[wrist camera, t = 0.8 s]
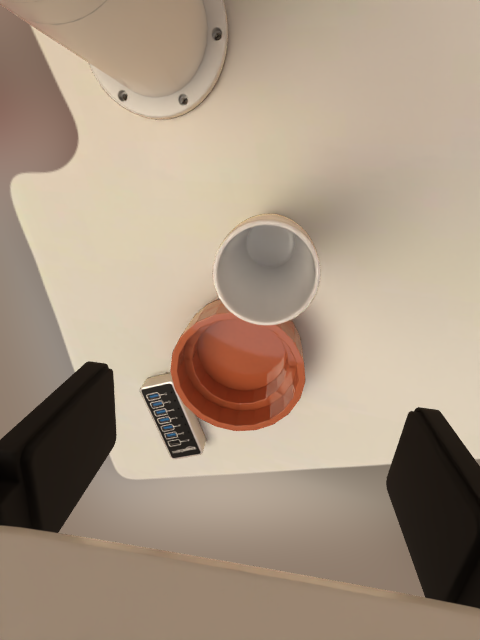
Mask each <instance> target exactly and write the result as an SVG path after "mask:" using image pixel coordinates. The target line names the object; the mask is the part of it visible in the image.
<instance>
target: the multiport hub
mask: <svg viewBox="0 0 480 640" xmlns="http://www.w3.org/2000/svg"><path fill="white" fill-rule="evenodd" d="M140 393H141V395H142V397H143V399H144V401H145V403H146V405H147V408H148V410H149V412H150V414H151V416H152V418H153V420H154V423H155V425H156V427H157V429H158V431H159V433H160V435H161V438H162V440H163V442H164V444H165V446H166V448H167V450H168V453H169V455H170V457H171V458H172V459H178V458H184V457H190V456H195V455H201V454H202V453H203V449H204V446H205V442H206V438H205V436H204V433H203V431H202V429H201V426H200V424H199V421H198V419H197V417H196V415H195V414H194V413H193V412H192V411H191V410H190V409H188V408H187V407H186V406H185V405H184V404H183V402H182V400H181V399H180V397H179V395H178V394H177V392H176V390H175V388H174V384H173V380H172V376H171V373H167V374H163V375H158V376H154V377H150V378H147V379H146V381H145V382H144V384H143V385H142V387H141V388H140Z"/></svg>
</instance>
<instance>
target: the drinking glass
mask: <svg viewBox="0 0 480 640" xmlns="http://www.w3.org/2000/svg"><path fill="white" fill-rule="evenodd" d="M320 275H321V269H320V262H319V258H318V254H317V251H316V248H315V246H314V244H313V242H312V240H311V238H310V237H309V235H308V234H307V232H306V231H305V230H304V229H303V228H302V227H301V226H300V225H299V224H297V223H296V222H295V221H293V220H291V219H290V218H287V217H285V216H282V215H279V214H260V215H256V216H253V217H250V218H248V219H246V220H244V221H243V222H241V223H240V224H238V225H237V226H236V227H235V228H234V229H233V230H232V231H231V232H230V233H229V234H228V235H227V236H226V238H225V239H224V241H223V242H222V244H221V245H220V247H219V249H218V251H217V253H216V256H215V259H214V264H213V282H214V286H215V289H216V292H217V294H218V296H219V298H220V300H221V302H222V303H223V304H224V306H225V307H226V308H227V309H228V310H229V311H230V312H231V313H232V314H234V315H235V316H237V317H238V318H240V319H242V320H244V321H246V322H249V323H252V324H256V325H277V324H281V323H284V322H287V321H289V320H291V319H293V318H295V317H296V316H298V315H299V314H301V313H302V312H303V311H304V310H305V309H306V308H307V307H308V306H309V304H310V303H311V302H312V300H313V299H314V297H315V295H316V292H317V290H318V287H319V283H320Z"/></svg>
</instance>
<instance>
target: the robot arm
mask: <svg viewBox="0 0 480 640" xmlns="http://www.w3.org/2000/svg"><path fill="white" fill-rule="evenodd" d="M0 5H2V6H3V7H5V8H6V9H8V10H9V11H11V12H12V13H14V14H15V15H17V16H18V17H19V18H21V19H22V20H24V21H25V22H27V23H28V24H30V25H31V26H33V27H35V28H36V29H38V30H39V31H41V32H42V33H44V34H45V35H47V36H48V37H50V38H51V39H53V40H55V41H56V42H58V43H59V44H61V45H62V46H64V47H65V48H67V49H68V50H70V51H71V52H73V53H75V54H76V55H78V56H79V57H81V58H82V59H84V60H85V61H87V62H88V63H89V66H90V68H91V70H92V73H93V74H94V76H95V77H96V79H97V81H98V82H99V84H100V86H101V87H102V88H103V89H104V90H105V91H106V93H107V94H108V95H109V96H110V97H111V98H112V99H113V100H114V101H116V102H117V103H118V104H119V105H121V106H122V107H123V108H125V109H127V110H129V111H131V112H132V113H135V114H137V115H140V116H142V117H146V118H151V119H170V118H174V117H178V116H181V115H183V114H185V113H187V112H189V111H191V110H192V109H194V108H195V107H196V106H197V105H199V104H200V103H201V102H202V101H203V100H204V99H205V98H206V96H207V95H208V94H209V93H210V91H211V90H212V89H213V87H214V85H215V83H216V81H217V80H218V78H219V76H220V73H221V70H222V67H223V64H224V61H225V56H226V50H227V44H228V23H227V16H226V9H225V5H224V2H223V0H0ZM217 35H220V36H221V39H220V40H218V41H217V40H216V36H217ZM126 95H127V100H126V101H125V99H124V98H125V96H126ZM184 99H187V100H188V103H187V104H185V105H184V104H183V100H184ZM115 441H116V418H115V399H114V380H113V371H112V369H109V368H108V365H107V364H104V363H97V362H86V363H85V364H84V365H83V366H82V367H81V368H80V369H78V370H77V371H76V372H75V373H74V374H73V375H72V376H71V377H70V378H69V379H67V380H66V381H65V382H64V383H63V384H62V385H61V386H60V387H59V388H57V389H56V390H55V391H54V392H53V393H52V394H51V395H50V396H48V398H46V399H45V400H44V401H43V402H42V403H41V404H40V405H38V406H37V407H36V408H35V409H34V410H33V411H32V412H31V413H30V414H28V415H27V416H26V417H25V418H24V419H23V420H22V421H21V422H20V423H18V424H17V425H16V426H15V427H14V428H13V429H12V430H11V431H10V432H8V433H7V434H6V435H5V436H4V437H3V438H2V439H1V440H0V640H480V466H479V465H478V463H477V462H476V461H475V459H474V458H473V457H472V455H471V454H470V452H469V451H468V450H467V448H466V447H465V445H464V444H463V443H462V441H461V440H460V438H459V437H458V436H457V434H456V433H455V431H454V430H453V429H452V427H451V426H450V425H449V423H448V422H447V420H446V419H445V418H444V416H443V415H442V413H441V412H440V411H439V410H434V409H427V408H419V407H418V408H416V409H415V411H414V412H413V411H411V412H409V414H408V416H407V419H406V422H405V425H404V428H403V431H402V434H401V437H400V440H399V443H398V446H397V449H396V452H395V455H394V458H393V461H392V464H391V467H390V470H389V473H388V476H387V481H386V485H387V490H388V493H389V496H390V499H391V502H392V505H393V507H394V510H395V513H396V516H397V519H398V522H399V525H400V527H401V530H402V533H403V536H404V538H405V541H406V544H407V547H408V550H409V552H410V555H411V558H412V561H413V564H414V566H415V569H416V572H417V575H418V578H419V581H420V583H421V586H422V589H423V592H424V595H425V597H420V596H415V595H410V594H405V593H399V592H394V591H388V590H383V589H377V588H372V587H366V586H361V585H355V584H350V583H344V582H339V581H333V580H328V579H322V578H317V577H311V576H306V575H300V574H295V573H289V572H283V571H278V570H272V569H267V568H261V567H255V566H250V565H244V564H238V563H232V562H227V561H221V560H215V559H210V558H204V557H198V556H192V555H187V554H181V553H175V552H169V551H164V550H158V549H152V548H146V547H140V546H134V545H128V544H122V543H116V542H110V541H104V540H98V539H93V538H87V537H81V536H74V535H67V534H61V533H58V532H59V531H60V529H61V527H62V526H63V525H64V523H65V521H66V520H67V518H68V517H69V515H70V514H71V512H72V510H73V509H74V507H75V506H76V504H77V503H78V501H79V500H80V498H81V497H82V495H83V493H84V492H85V490H86V489H87V487H88V486H89V484H90V483H91V481H92V479H93V478H94V476H95V475H96V473H97V472H98V470H99V469H100V467H101V466H102V464H103V462H104V461H105V459H106V458H107V456H108V455H109V453H110V452H111V450H112V448H113V447H114V444H115Z"/></svg>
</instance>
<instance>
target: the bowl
mask: <svg viewBox="0 0 480 640" xmlns="http://www.w3.org/2000/svg"><path fill="white" fill-rule="evenodd" d="M171 376H172V380H173V384H174V388H175V390H176V392H177V394H178V395H179V397H180V399H181V400H182V402H183V404H184V405H185V406H186V407H187V408H188V409H190V410H191V411H192V412H193V413H194V414H195V415H196V416H197V417H199V418H200V419H202V420H204V421H206V422H208V423H210V424H212V425H214V426H216V427H220V428H224V429H229V430H233V431H235V430H236V431H246V430H258V429H261V428H264V427H267V426H270V425H273V424H275V423H276V422H278V421H279V420H281V419H282V418H283V417H285V416H286V415H288V414H289V413H290V411H291V410H292V409H293V407H294V406H295V405H296V403H297V402H298V401H299V399H300V398H301V394H302V391H303V387H304V384H305V369H304V359H303V352H302V344H301V338H300V336H299V334H298V332H297V329H296V327H295V325H294V323H293V322H292V321H291V320H289V321H287V322H284V323H281V324H277V325H256V324H252V323H249V322H246V321H244V320H242V319H240V318H238V317H237V316H235V315H234V314H232V313H231V312H230V311H229V310H228V309H227V308H226V307H225V306H224V304H223V303H222V302H221V300H220V299H218V300H216V301H214V302H211V303H209V304H207V305H206V306H205V307H204V308H203V309H202V310H200V311H199V312H198V313H197V314H196V315H195V316H194V317H193V319H192V320H191V322H190V323H189V325H188V326H187V328H186V329H185V331H184V332H183V334H182V335H181V337H180V339H179V341H178V343H177V345H176V347H175V349H174V350H173V353H172V361H171Z"/></svg>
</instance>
